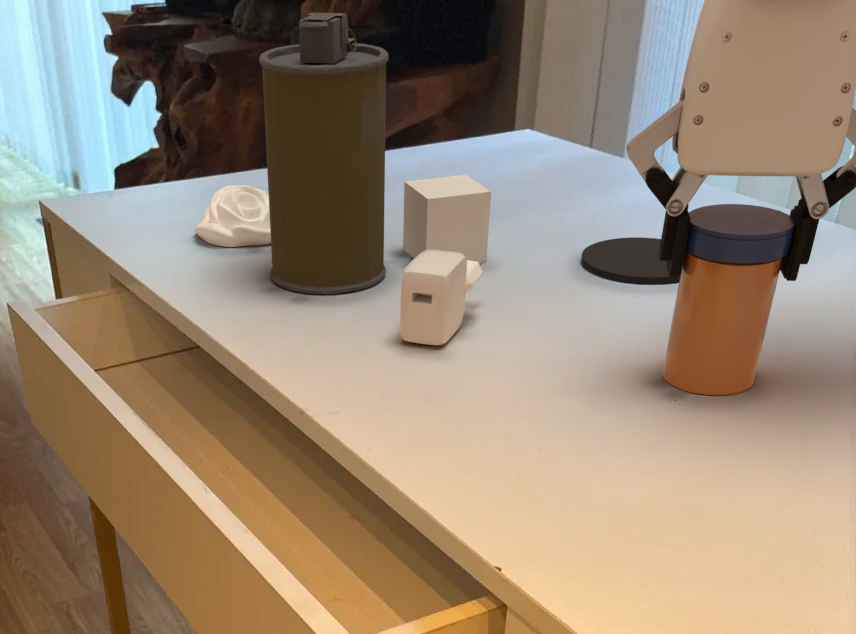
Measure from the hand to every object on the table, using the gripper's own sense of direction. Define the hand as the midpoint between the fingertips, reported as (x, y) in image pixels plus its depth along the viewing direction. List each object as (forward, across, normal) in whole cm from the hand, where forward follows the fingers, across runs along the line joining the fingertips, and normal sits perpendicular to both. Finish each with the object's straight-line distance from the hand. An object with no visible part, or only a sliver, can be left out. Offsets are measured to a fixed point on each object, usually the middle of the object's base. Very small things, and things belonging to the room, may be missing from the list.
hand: (729, 270), depth 77 cm
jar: (+8, 0, 0) cm, 8 cm away
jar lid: (-3, 0, 0) cm, 3 cm away
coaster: (+8, +3, -25) cm, 26 cm away
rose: (+8, +41, -31) cm, 52 cm away
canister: (+8, +31, -20) cm, 38 cm away
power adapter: (+8, +20, -9) cm, 23 cm away
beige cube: (+8, +21, -26) cm, 34 cm away
